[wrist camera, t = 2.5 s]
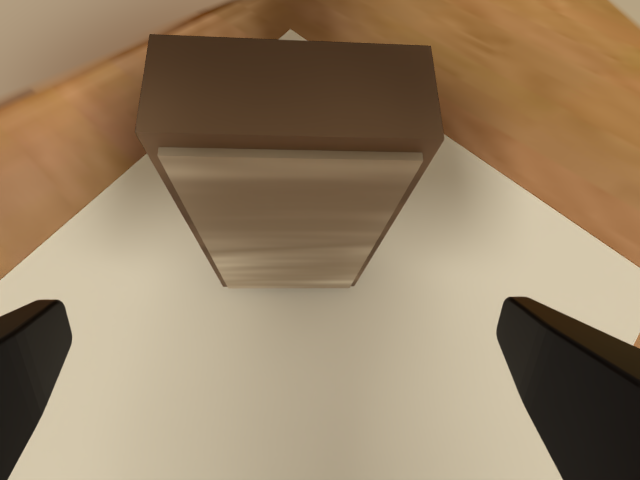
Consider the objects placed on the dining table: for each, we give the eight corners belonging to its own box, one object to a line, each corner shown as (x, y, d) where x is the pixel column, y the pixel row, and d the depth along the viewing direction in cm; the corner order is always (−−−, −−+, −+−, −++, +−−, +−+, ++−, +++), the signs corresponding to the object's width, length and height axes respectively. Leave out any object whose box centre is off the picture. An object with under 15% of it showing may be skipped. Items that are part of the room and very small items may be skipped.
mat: (302, 1001, 12) (302, 1019, 12) (-178, 442, 16) (-189, 443, 16) (656, 286, 21) (663, 284, 21) (290, 34, 25) (290, 28, 25)
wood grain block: (354, 290, 20) (446, 148, 8) (222, 291, 19) (133, 141, 8) (351, 237, 20) (430, 45, 9) (226, 237, 20) (149, 34, 9)
